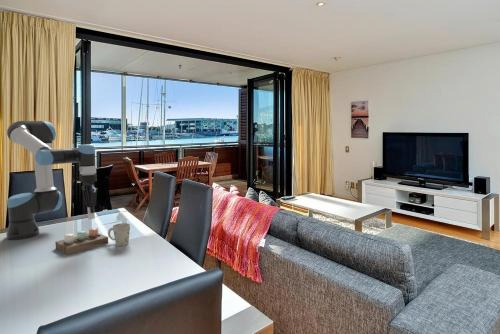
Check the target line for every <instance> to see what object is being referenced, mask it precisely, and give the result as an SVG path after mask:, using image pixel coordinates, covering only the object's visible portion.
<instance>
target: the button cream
mask: <svg viewBox="0 0 500 334" xmlns="http://www.w3.org/2000/svg"><path fill="white" fill-rule="evenodd" d="M63 237H64V239H65V244H72V243H75V237H76V236H75V233H67V234H66V233H65V234H64V236H63ZM64 239H63V240H64Z"/></svg>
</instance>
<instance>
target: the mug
mask: <svg viewBox="0 0 500 334" xmlns="http://www.w3.org/2000/svg"><path fill="white" fill-rule="evenodd" d="M130 230H131V224H130V223H128V222H125V223H124V222H121V223H120V222H119V223H116V224H114V225H112V227H110V228H109V229H108V231H107V237H108V239H111V240H112V241H115V245H116V247H124V246H127V245H128V244H129V242H130V241H129V239H130ZM111 232H113V236H114V237H112V236H111Z"/></svg>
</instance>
